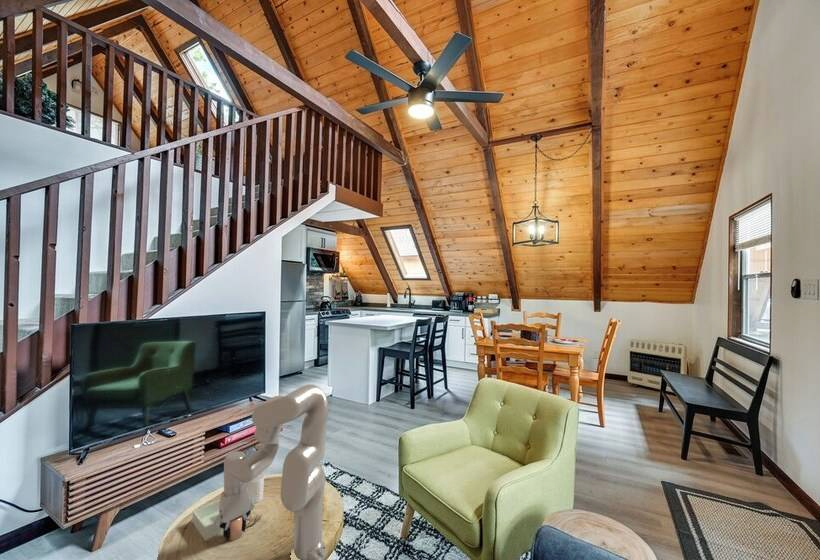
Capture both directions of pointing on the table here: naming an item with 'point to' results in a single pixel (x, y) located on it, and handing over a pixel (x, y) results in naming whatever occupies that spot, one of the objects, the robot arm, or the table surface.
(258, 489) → the white cup
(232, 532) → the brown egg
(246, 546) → the table surface
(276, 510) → the table surface
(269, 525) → the table surface
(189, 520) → the table surface
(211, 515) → the tote
